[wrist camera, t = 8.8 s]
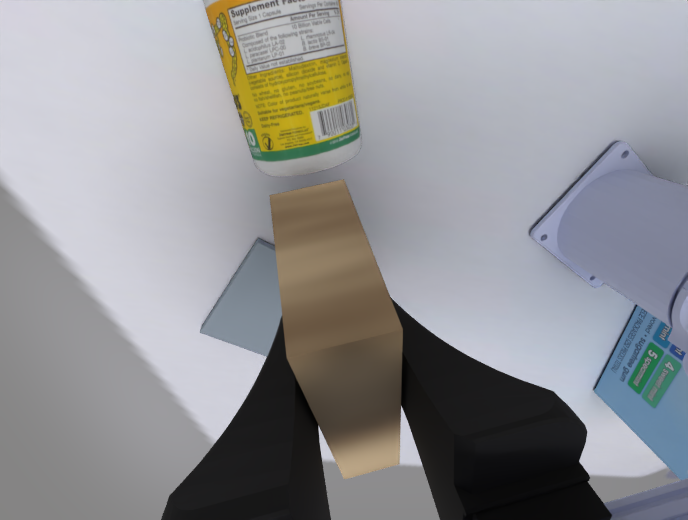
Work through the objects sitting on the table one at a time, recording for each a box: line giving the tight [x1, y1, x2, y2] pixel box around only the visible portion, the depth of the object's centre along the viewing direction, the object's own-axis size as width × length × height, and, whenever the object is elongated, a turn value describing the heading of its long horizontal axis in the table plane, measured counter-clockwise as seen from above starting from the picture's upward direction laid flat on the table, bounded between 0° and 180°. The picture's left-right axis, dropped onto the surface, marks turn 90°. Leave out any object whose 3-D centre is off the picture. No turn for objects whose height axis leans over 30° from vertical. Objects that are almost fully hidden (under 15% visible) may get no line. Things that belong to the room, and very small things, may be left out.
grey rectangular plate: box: [200, 238, 282, 356], centre depth 25 cm, size 12×8×1 cm, turn 54°
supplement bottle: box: [203, 0, 362, 177], centre depth 15 cm, size 5×5×10 cm
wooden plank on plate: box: [270, 179, 403, 479], centre depth 13 cm, size 11×2×6 cm, turn 9°
